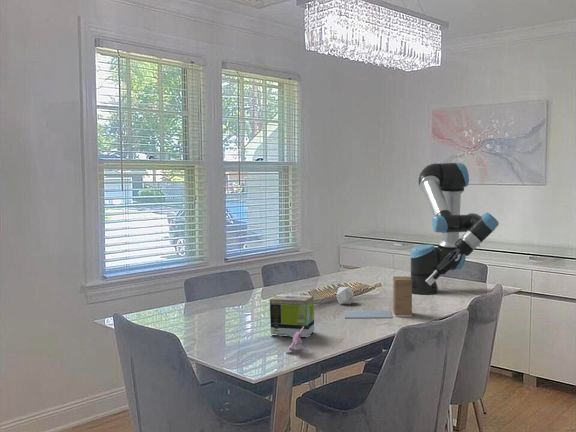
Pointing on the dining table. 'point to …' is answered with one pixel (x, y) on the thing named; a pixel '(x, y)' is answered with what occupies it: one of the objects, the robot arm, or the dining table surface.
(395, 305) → the brown wooden block
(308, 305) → the tea box
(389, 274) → the dining table surface
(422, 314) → the dining table surface
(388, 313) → the mat
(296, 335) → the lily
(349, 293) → the white faceted ball
